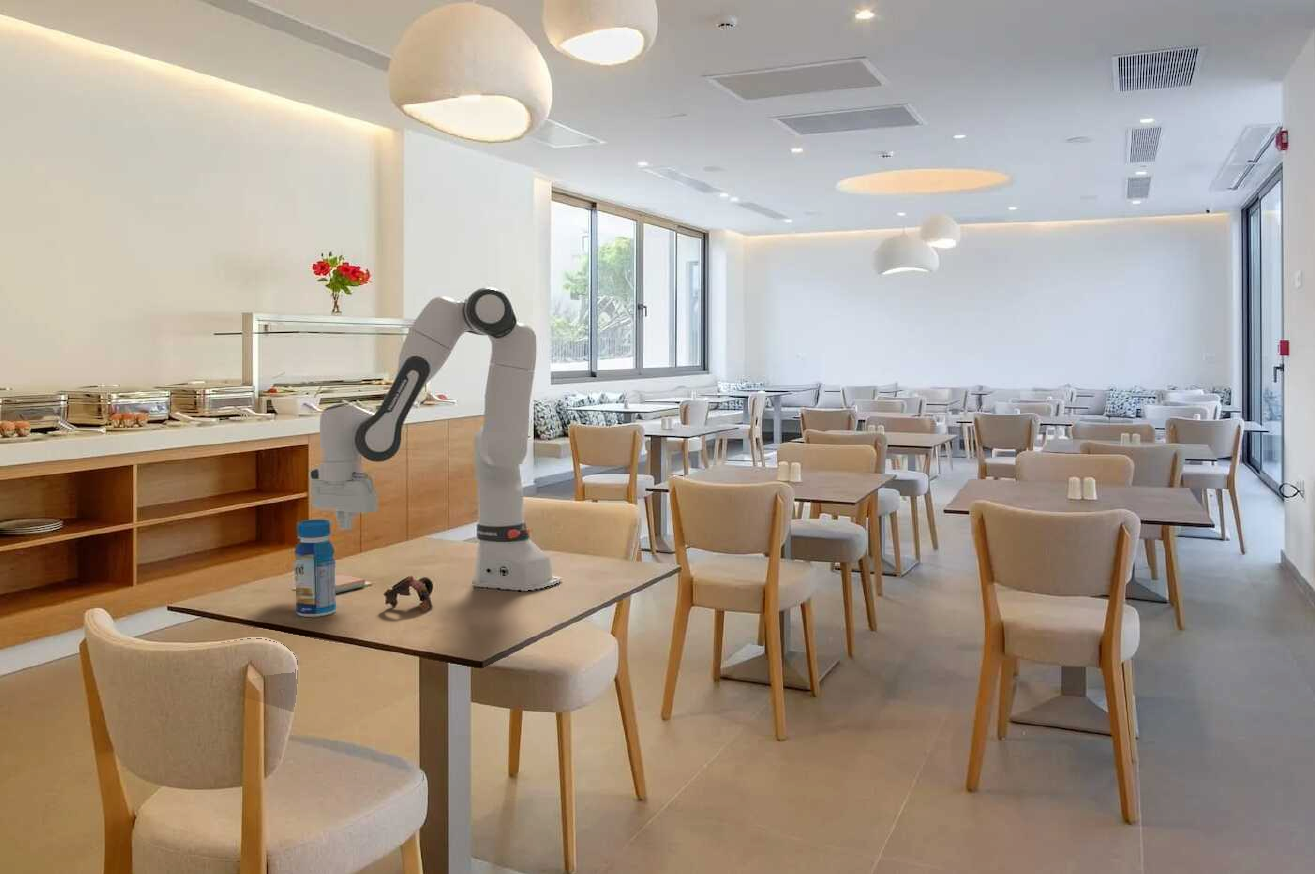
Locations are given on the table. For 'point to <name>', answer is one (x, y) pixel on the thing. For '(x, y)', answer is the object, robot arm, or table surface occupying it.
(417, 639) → the table surface
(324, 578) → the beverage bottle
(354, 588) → the cream cloth
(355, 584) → the glazed tile
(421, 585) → the brown ring-shaped piece
